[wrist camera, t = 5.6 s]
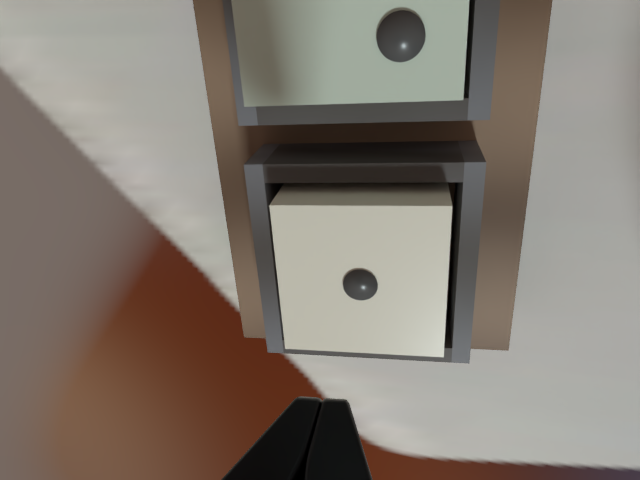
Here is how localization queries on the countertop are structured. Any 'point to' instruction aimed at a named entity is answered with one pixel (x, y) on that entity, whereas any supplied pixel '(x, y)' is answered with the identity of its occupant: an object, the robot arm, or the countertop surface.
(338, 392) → the countertop surface
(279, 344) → the digit board
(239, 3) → the tile two
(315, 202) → the tile one
